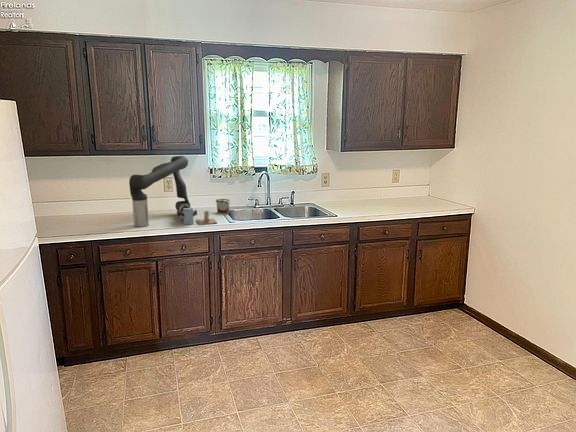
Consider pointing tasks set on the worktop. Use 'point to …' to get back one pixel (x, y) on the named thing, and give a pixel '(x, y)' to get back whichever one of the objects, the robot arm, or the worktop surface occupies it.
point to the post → (206, 219)
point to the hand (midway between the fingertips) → (188, 215)
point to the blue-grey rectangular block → (188, 216)
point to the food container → (223, 205)
